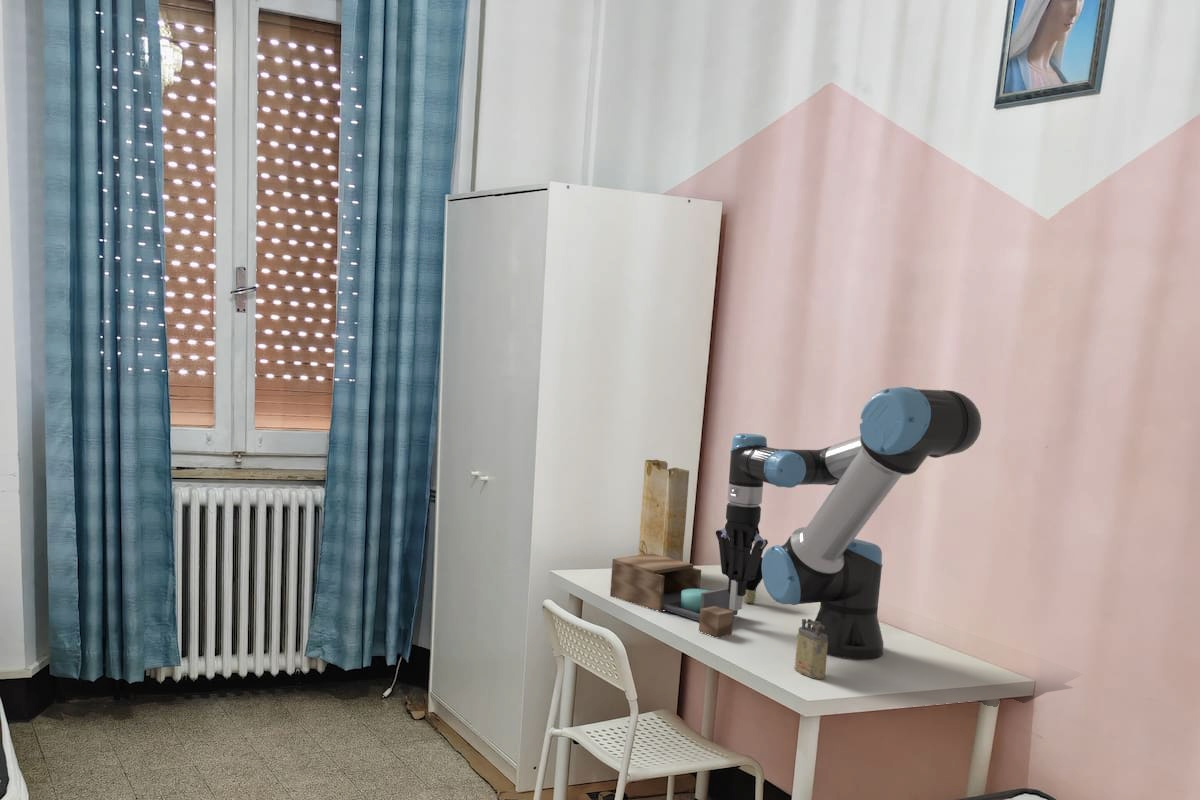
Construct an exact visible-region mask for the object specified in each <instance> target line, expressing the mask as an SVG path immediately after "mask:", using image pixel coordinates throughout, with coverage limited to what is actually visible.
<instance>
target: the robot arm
mask: <svg viewBox="0 0 1200 800" xmlns="http://www.w3.org/2000/svg"><path fill="white" fill-rule="evenodd" d="M860 419H861V422H860V423H859V431H860V432H859V433H860V435H859V436H856V437H854V438H850V439H848V440H845V441H844V440H843V442H839V443H836V444H833V445H831V446H827V447H824V448H822V449H790V448H789V449H785V448H784V449H783V448H774V447H768V444H767V443H768V442H767V437H765V436H764V435H761V434H755V433H736V434H735V435H734V436H733V437H732V443H731V449H730V461H729V477H728V489H727V501H728V503H727V504H726V508H725V509H726V510H725V511H726V512H725V520H726V523H725V526H724V527H723V528H722V529H718V530H716V531H715V536H716V538H717V542H718V548H719V559H720V569H721V574H722V575H724V576H726V577H727V578H728V586H727V588H728V592H729V593H730V602H729V609H730V610H733V611H735V610H738V611H739V610H742V609H743V601H744V599H743V598H744V597H745V594H746V583H747V581H748V580H753V579H755V576H756V573H757V569H758V566H759V563H760V559H761V557H762V558H763V559H762V581H763V584H764V588H765V590H766V591H767V593H768V595H769V597H770V598H772V599H773V600H774V601H775V602H776V603H778V604H781V605H792V606H797V605H802V604H813V603H814V604H815V603H820V605H819V610H818V611H817V613H816V617H815V620H814V621H819V622H821V624H822V625H824V626H825V628H824V629H821V628H820V629H819V631H820V632H822V633H824V634H826V635H827V636H828V638H827V641H828V647H827V655H830V656H834V657H838V658H842V659H843V658H844V659H851V660H870V659H872V660H873V659H877V658H880V657H882V656H883V653H884V639H883V635H882V631H881V627H880V623H879V618H878V612H879V611H878V609H879V598H880V589H881V588H880V587H881V579H882V568H883V564H882V560H883V559H882V558H883V551H882V549H881V547H880V546H879V545H877V544H875V543H873V542H870V541H866V540H862V539H858V538H856V537H857V536H858V535H859V534H860V532H861V530H862V529H863V528H864V527H865V525H866V524H867V522H868V521H869V520H870V518H871V517H872V516H873V514H874V513H875V512H876V511H877V509H879V506H881V504H882V503H883V501H884V500H885V498H886V497H888V495H889V493H890V492H891V490H892V489H893V488H894V487H895V485H896V484H897V483H898V481H899V480H900V478H901V477H902V476H909V475H913V474H915V472H917V471H918V469H919V468H920V467H921V465H922V464H923V463H924V461H925V460H926V459H927V457H929V458H933V459H936V458H937V459H938V458H942V457H946V456H950V455H955V454H960V453H962V452H965V451H966V450H968V449H969V448H971V447H972V446H973V445H974V443H976V442H977V439H978V438H979V436H980V434H981V430H982V418H981V414H980V411H979V408H977V405H976V404H975V403H974V402H973V400H971V399H970V398H968V397H967V396H966V395H965V394H962V393H960V392H958V391H955V390H946V389H943V390H941V389H922V388H921V389H919V388H917V389H916V388H914V387H909V386H898V387H894V388H893V387H891V388H885V389H882V390H879V391H878V392H876V393H875V394H873V395H872V396H871V397H870V398H869V399H868V401H867V402H865V404H864V406H863V408H862V411H861V414H860ZM764 483H767V484H769V485H773V486H775V487H779V488H787V489H790V488H795V487H796V486H798V485H799V486H800V485H801V486H802V485H803V486H806V485H825V486H834V487H833V489H832V490H831V491H830V493H829V494H828V496H827V497H826V498H825V500H824V501H823V503H822V504H821V505H820V506H819V508H818V510H817V512H816V513H815V514H814V516H813V517H812V518H811V520H810V522H809V523H808V524H807V526H804V527H802V526H801V527H799V528H797V529H795V530H794V531H793V532H792V533H791V535H790V536H789V537H788V539H787V540H786V542H785V543H784V544H782V545H780V544H776V545H774V546H770V547H768V548H767V549H766V550H765V548H766V547H767V545H768V544H769V541H768V539H764V538H763V537H762V536H761V535H760V529H759V524H760V522H761V514H762V513H761V512H762V508H761V506H760V505H761V504H762V503H763V491H764V490H763V489H764ZM764 550H765V552H764ZM763 552H764V554H763ZM750 554H751V555H750ZM811 628H813V625H811ZM813 629H814V628H813Z"/></svg>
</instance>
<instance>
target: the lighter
mask: <svg viewBox="0 0 1200 800" xmlns="http://www.w3.org/2000/svg"><path fill="white" fill-rule="evenodd" d="M806 625H807V626H806ZM812 626H813V628H814V629H813V628H812ZM820 628H821V629H824V628H825V626H824V625H822V624H821V622H819V621H815V620H812V619H810V618H809V619H806V618H802V619H801V626H800V627H798V630H797V631H798V632H797V637H796V648H795V661H794V667H793V668H794V670H795V671H796V672H799V673H800V675H805V676H807V677H808V678H811V679H818V680H823V679H826V669H827V658H828V657H827V656H828V654H827V647H828V641H827V638H828V636H827V635H826V634H824V633H822V632H820V631H819V629H820Z"/></svg>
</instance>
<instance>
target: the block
mask: <svg viewBox="0 0 1200 800" xmlns="http://www.w3.org/2000/svg"><path fill="white" fill-rule="evenodd" d="M698 622H699V624H698V632H699V631H700V632H703V633H706V634H709V635H711V636H710V637H712V636H714V637H713V638H715V637H719V638H722V636H724V637H726V635H728V636H732V635H731V634H732V633H733V623H734V616H733V611H730V610H727V609H724V608H720V607H717V606H713V607H708V608H703V609H700V621H698ZM700 632H699V633H700ZM703 633H702V634H703ZM706 634H705V635H706ZM709 635H708V636H709Z"/></svg>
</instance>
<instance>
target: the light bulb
mask: <svg viewBox="0 0 1200 800" xmlns="http://www.w3.org/2000/svg"><path fill="white" fill-rule="evenodd" d="M750 555H751V553H750ZM762 559H763V556H761V559H760V563H759V566H758V569H757V573H756V576H755V579H753V580H748V581H747V583H746V594H745V596H744V599H743V601H745V603H747V604H754V603H755V601H756V596H757V595H756V593H757V587H758V586H759V585H760V583H761V582H762V581H763V578H762Z"/></svg>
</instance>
